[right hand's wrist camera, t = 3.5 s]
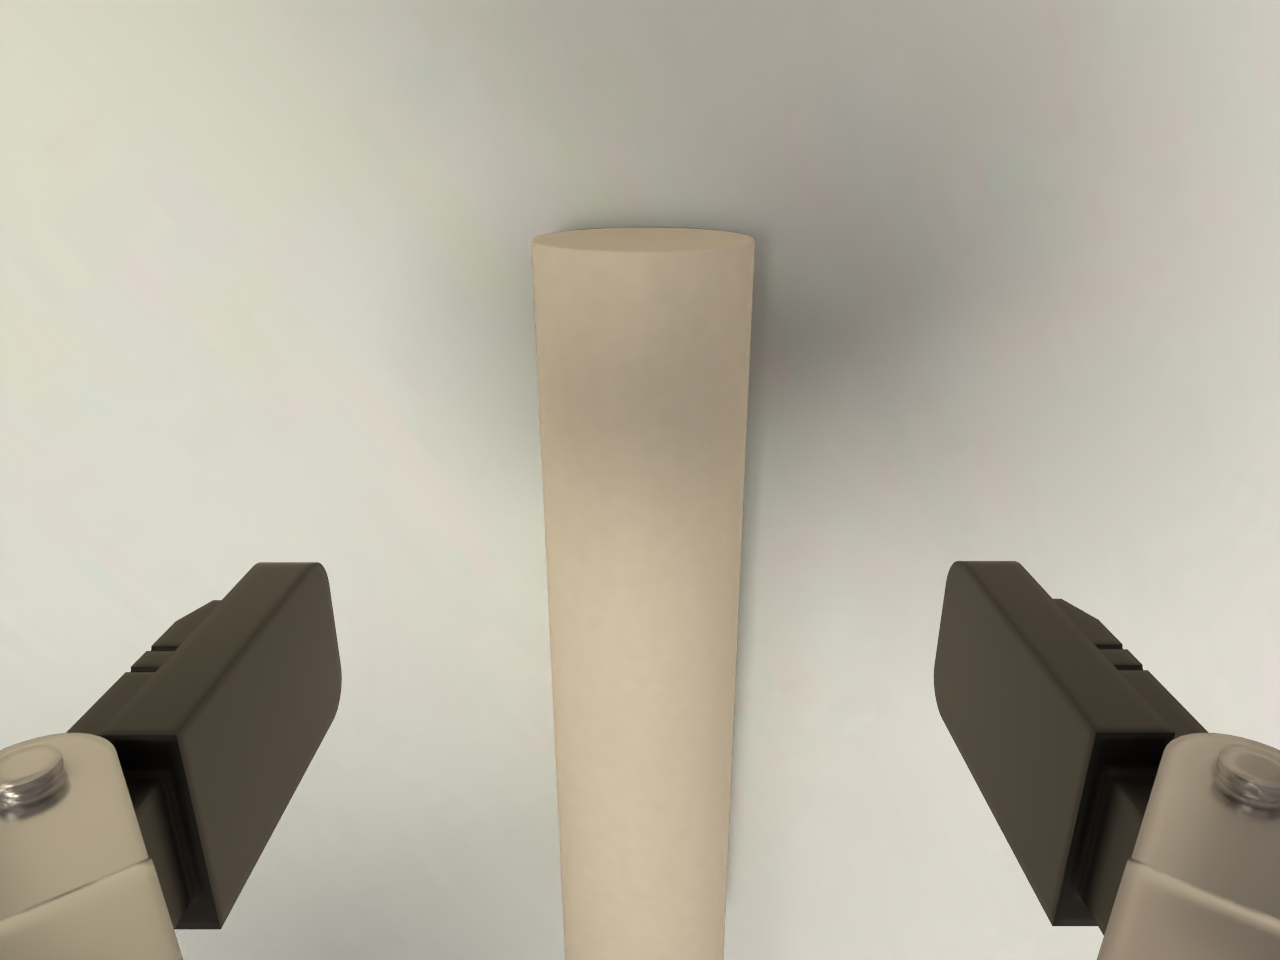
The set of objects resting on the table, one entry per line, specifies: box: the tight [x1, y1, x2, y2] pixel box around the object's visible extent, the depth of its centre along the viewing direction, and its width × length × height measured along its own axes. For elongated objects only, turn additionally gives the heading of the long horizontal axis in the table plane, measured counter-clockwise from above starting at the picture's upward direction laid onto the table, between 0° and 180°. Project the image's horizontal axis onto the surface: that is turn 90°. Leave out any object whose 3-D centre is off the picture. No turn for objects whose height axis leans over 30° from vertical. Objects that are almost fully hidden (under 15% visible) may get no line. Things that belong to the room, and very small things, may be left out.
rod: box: [532, 227, 755, 960], centre depth 25 cm, size 24×5×5 cm, turn 0°
